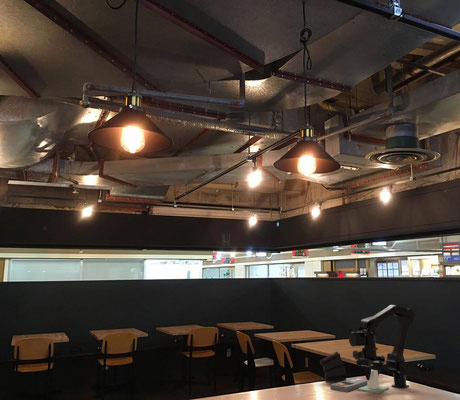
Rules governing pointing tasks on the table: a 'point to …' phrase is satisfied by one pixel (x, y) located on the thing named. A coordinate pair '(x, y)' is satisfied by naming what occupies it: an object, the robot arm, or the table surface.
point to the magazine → (333, 368)
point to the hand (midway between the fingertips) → (372, 378)
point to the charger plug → (373, 380)
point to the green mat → (373, 389)
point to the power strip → (349, 384)
